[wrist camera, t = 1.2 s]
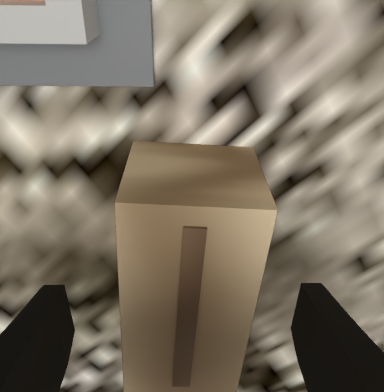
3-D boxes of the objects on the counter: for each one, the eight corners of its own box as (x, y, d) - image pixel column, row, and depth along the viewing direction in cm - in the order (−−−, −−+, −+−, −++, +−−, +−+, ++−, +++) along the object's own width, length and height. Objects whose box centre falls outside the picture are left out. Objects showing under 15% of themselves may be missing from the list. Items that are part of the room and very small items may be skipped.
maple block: (252, 145, 12) (278, 212, 9) (225, 308, 17) (236, 397, 13) (134, 138, 12) (113, 204, 9) (136, 305, 16) (123, 395, 13)
